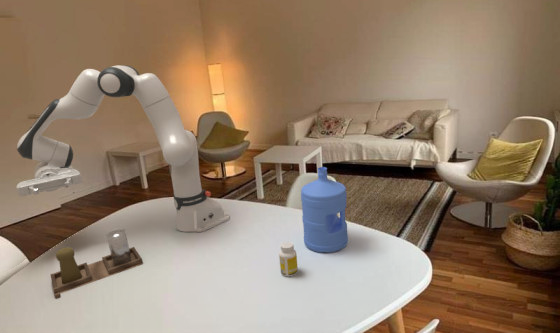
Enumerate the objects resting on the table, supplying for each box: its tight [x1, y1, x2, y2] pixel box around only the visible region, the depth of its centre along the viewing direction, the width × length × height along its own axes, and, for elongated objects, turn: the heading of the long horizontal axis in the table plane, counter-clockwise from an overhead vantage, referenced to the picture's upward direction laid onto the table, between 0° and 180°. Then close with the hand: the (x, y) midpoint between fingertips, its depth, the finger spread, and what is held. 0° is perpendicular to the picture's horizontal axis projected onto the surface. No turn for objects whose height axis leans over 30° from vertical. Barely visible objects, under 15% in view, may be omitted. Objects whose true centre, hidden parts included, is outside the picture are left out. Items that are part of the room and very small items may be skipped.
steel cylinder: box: [106, 228, 132, 266], centre depth 134 cm, size 6×6×11 cm
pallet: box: [50, 246, 144, 299], centre depth 131 cm, size 27×13×3 cm, turn 123°
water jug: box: [300, 166, 349, 253], centre depth 135 cm, size 16×16×28 cm
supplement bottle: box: [278, 241, 299, 277], centre depth 121 cm, size 5×5×10 cm
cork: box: [55, 246, 82, 284], centre depth 125 cm, size 6×6×11 cm
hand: (51, 188), depth 134 cm, fingers open, 8 cm apart
